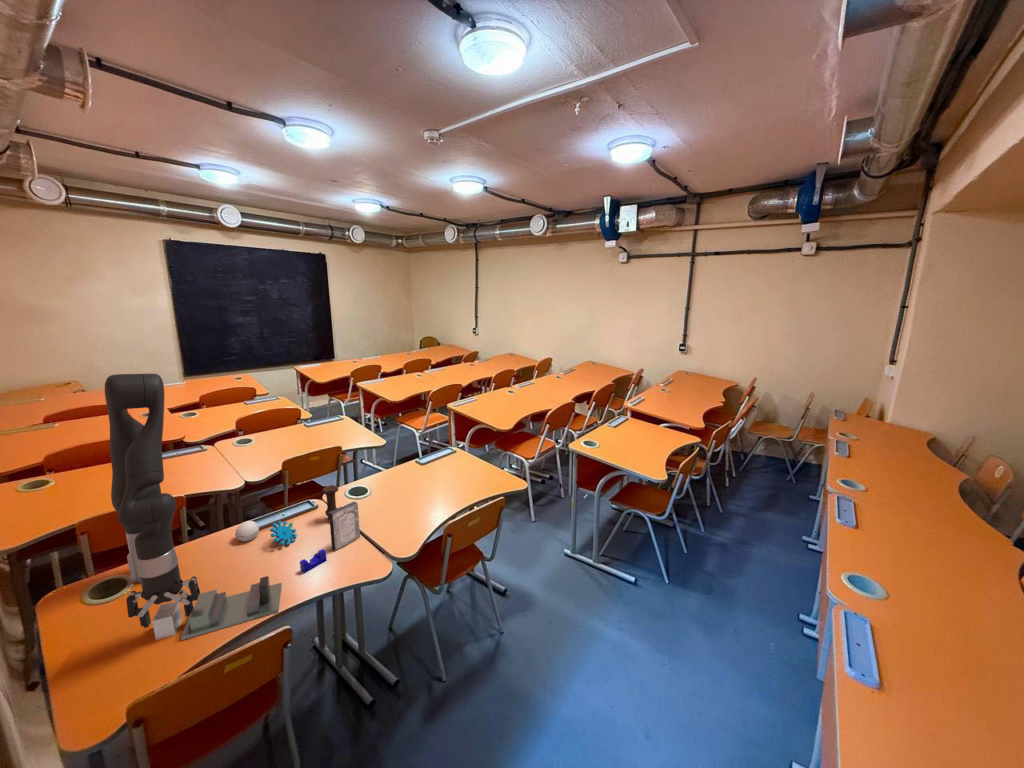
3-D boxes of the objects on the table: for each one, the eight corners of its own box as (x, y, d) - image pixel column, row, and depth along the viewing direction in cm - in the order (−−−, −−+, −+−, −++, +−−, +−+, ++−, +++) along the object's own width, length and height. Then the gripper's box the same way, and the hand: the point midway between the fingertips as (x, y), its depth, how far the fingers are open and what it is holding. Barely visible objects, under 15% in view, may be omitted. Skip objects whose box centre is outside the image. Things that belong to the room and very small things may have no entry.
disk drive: (335, 551, 137) (332, 514, 134) (331, 548, 139) (328, 511, 136) (360, 537, 146) (358, 502, 143) (356, 535, 147) (354, 500, 144)
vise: (181, 640, 100) (178, 624, 99) (194, 608, 110) (191, 593, 109) (278, 612, 110) (276, 597, 109) (281, 585, 120) (280, 571, 119)
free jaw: (247, 615, 107) (244, 596, 106) (252, 591, 116) (250, 574, 114) (267, 609, 109) (265, 591, 108) (271, 586, 118) (269, 569, 117)
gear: (287, 548, 137) (266, 530, 135) (276, 558, 138) (256, 539, 136) (304, 530, 148) (285, 513, 146) (294, 539, 148) (275, 522, 147)
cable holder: (320, 557, 134) (320, 547, 133) (326, 561, 132) (325, 550, 131) (298, 570, 127) (297, 559, 127) (304, 574, 126) (303, 563, 125)
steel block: (155, 640, 100) (152, 621, 99) (163, 623, 105) (160, 605, 104) (175, 634, 102) (171, 615, 100) (182, 618, 107) (179, 600, 106)
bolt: (342, 521, 156) (339, 488, 153) (330, 526, 152) (327, 492, 149) (335, 516, 160) (332, 483, 157) (323, 521, 156) (320, 488, 153)
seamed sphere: (232, 541, 142) (230, 523, 140) (254, 532, 148) (252, 515, 147) (245, 550, 137) (243, 532, 135) (267, 540, 143) (265, 522, 141)
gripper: (115, 584, 93) (127, 640, 96) (189, 567, 99) (198, 620, 103) (128, 566, 100) (139, 619, 103) (196, 551, 106) (204, 601, 109)
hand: (168, 619), depth 103 cm, fingers open, 8 cm apart
